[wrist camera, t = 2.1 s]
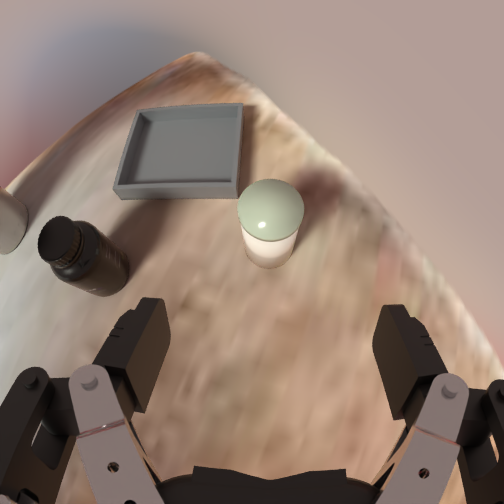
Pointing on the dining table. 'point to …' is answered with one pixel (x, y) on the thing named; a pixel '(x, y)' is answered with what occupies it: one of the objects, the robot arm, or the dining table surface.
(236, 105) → the tray
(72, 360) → the dining table surface
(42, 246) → the supplement bottle
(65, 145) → the dining table surface
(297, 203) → the green capped canister
